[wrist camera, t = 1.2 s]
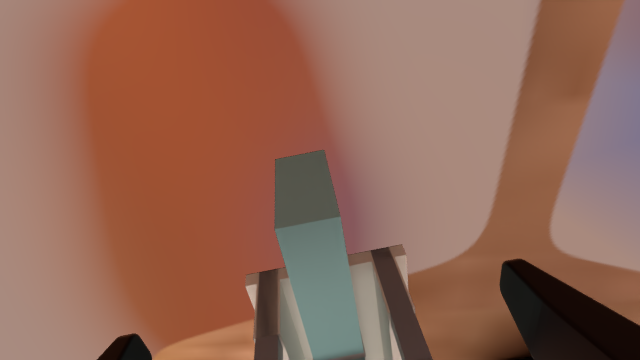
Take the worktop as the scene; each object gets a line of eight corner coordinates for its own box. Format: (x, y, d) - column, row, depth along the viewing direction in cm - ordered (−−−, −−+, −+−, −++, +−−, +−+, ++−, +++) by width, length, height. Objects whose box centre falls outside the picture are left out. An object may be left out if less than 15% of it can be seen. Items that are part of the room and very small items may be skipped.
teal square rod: (365, 372, 23) (382, 455, 19) (332, 379, 23) (343, 462, 19) (325, 149, 15) (341, 216, 11) (274, 159, 15) (272, 229, 11)
